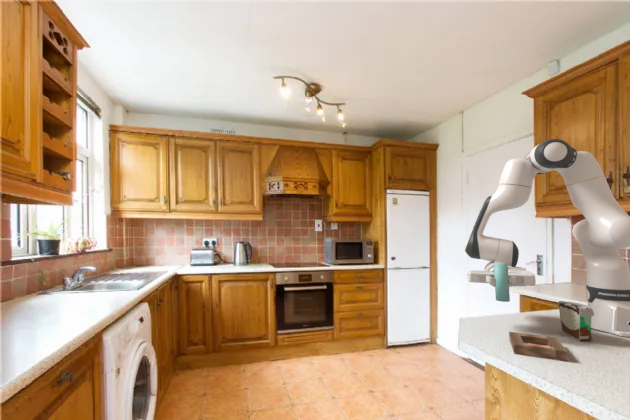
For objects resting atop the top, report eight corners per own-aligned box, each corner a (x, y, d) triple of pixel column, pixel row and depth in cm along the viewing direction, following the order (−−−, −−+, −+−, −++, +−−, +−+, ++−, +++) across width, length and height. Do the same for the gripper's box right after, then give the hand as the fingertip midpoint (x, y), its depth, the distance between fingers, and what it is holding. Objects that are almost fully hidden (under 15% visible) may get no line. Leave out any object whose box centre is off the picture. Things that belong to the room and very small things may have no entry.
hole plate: (556, 345, 91) (556, 336, 91) (568, 361, 80) (567, 351, 80) (509, 339, 96) (508, 331, 96) (514, 353, 85) (513, 343, 86)
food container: (606, 344, 92) (604, 310, 92) (582, 343, 93) (580, 309, 93) (579, 331, 104) (577, 301, 104) (559, 330, 105) (557, 300, 105)
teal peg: (509, 299, 103) (507, 263, 103) (510, 302, 99) (508, 265, 100) (495, 298, 104) (493, 263, 105) (496, 301, 101) (494, 264, 102)
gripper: (467, 265, 119) (466, 270, 106) (530, 268, 109) (538, 272, 97) (467, 282, 118) (467, 288, 106) (531, 285, 109) (539, 293, 97)
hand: (501, 281), depth 101 cm, fingers closed on teal peg, 4 cm apart
